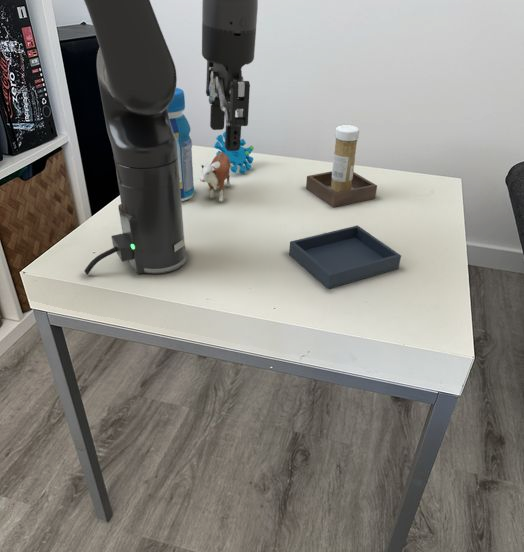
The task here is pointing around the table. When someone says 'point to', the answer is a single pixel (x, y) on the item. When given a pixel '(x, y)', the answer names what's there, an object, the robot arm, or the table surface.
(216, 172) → the bull figurine
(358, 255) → the tray
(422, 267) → the table surface
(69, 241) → the table surface
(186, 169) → the beverage bottle
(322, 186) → the open box
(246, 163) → the blue virus toy
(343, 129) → the sprinkles bottle
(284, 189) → the table surface
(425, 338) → the table surface
